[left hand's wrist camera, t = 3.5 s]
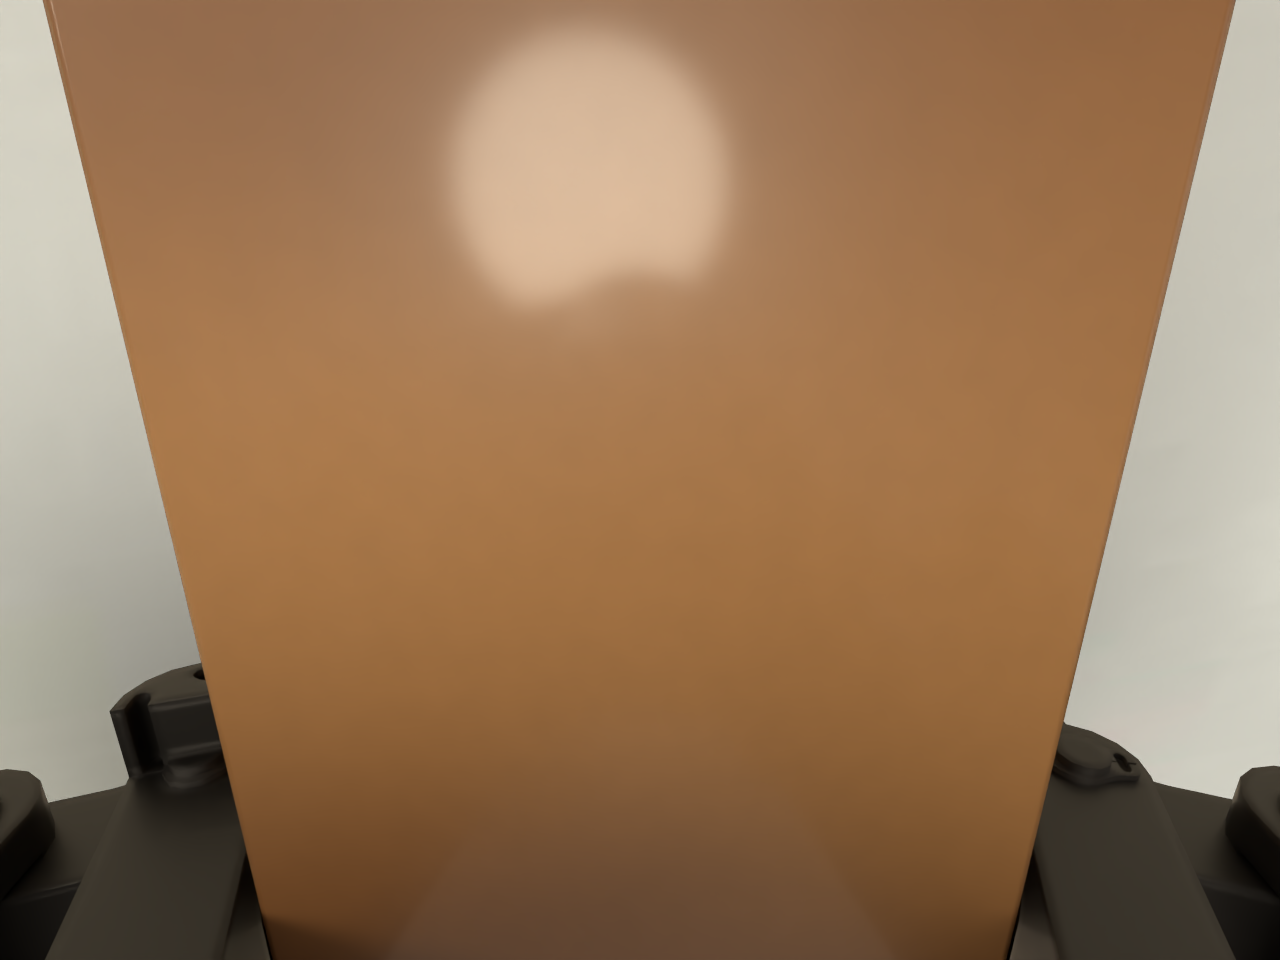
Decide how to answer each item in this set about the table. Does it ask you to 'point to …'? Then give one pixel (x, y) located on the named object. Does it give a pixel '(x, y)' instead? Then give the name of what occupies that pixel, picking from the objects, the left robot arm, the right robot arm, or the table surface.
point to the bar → (639, 441)
